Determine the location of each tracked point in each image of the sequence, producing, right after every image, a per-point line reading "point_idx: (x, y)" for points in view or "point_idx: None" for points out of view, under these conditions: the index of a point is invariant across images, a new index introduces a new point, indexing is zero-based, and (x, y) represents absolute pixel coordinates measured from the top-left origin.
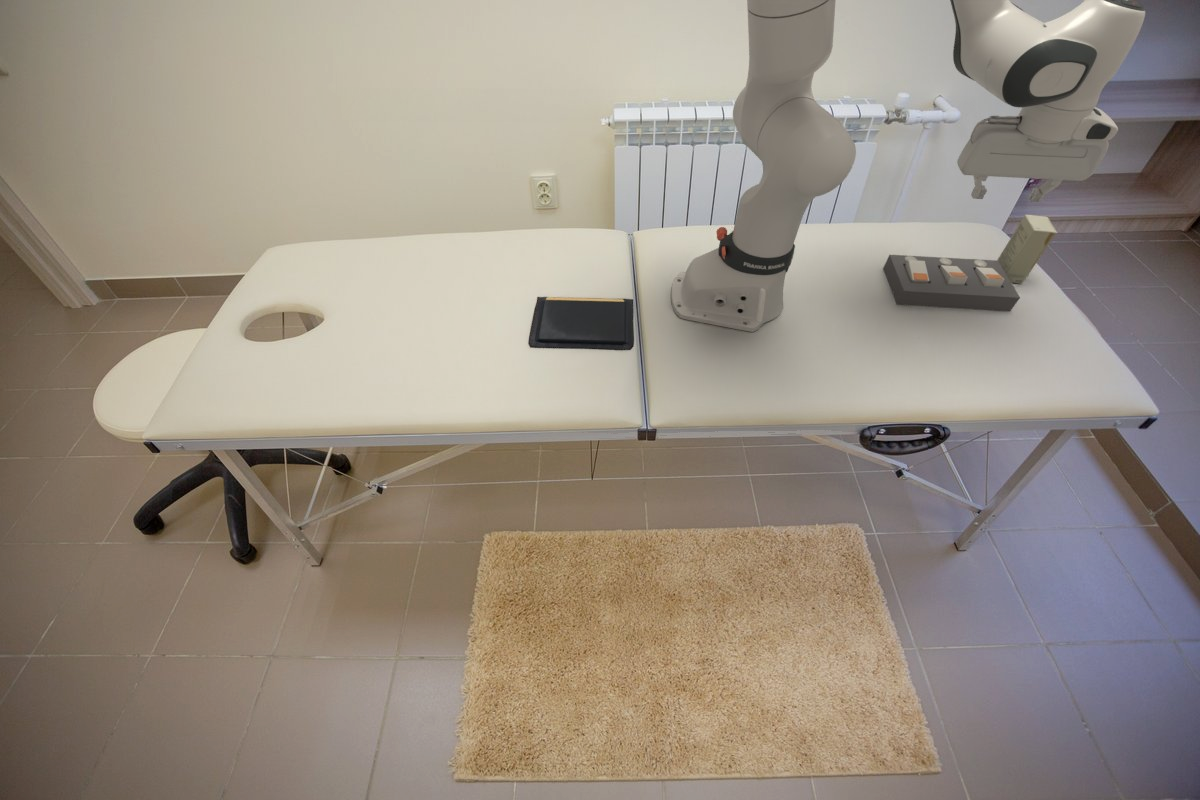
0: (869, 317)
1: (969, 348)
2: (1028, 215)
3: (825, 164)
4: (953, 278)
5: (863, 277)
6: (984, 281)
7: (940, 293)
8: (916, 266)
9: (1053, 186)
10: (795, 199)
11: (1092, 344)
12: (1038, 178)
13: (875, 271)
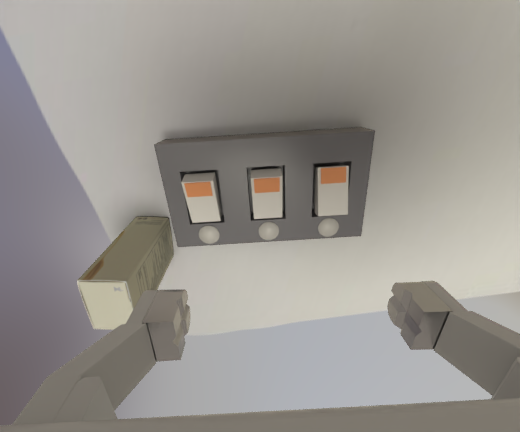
0: (426, 79)
1: (262, 3)
2: None
3: None
4: (275, 175)
5: (391, 195)
6: (214, 180)
7: (304, 135)
8: (336, 200)
9: (84, 366)
10: None
11: (25, 60)
12: (211, 417)
13: (365, 213)
